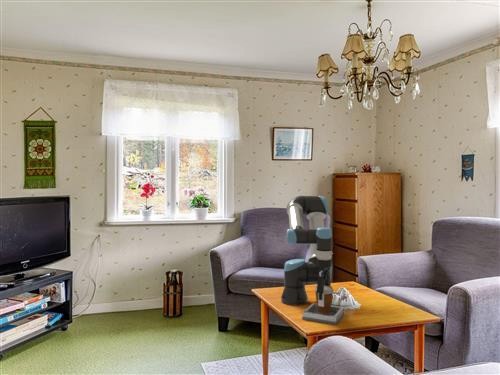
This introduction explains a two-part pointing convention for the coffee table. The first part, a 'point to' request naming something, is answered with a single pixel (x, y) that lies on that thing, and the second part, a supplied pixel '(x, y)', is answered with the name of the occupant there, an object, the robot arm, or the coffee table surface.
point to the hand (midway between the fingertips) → (323, 303)
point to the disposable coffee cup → (325, 299)
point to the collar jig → (323, 314)
